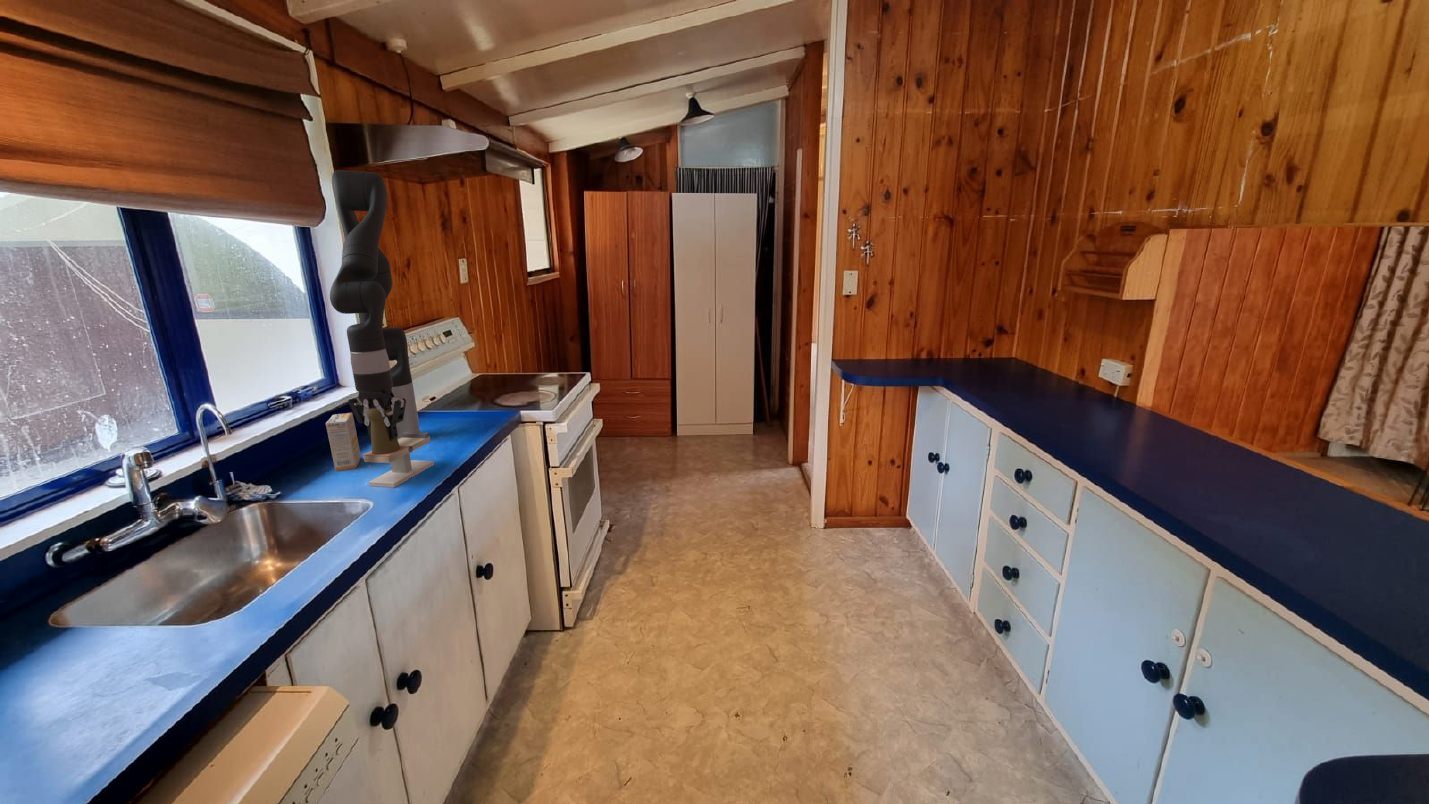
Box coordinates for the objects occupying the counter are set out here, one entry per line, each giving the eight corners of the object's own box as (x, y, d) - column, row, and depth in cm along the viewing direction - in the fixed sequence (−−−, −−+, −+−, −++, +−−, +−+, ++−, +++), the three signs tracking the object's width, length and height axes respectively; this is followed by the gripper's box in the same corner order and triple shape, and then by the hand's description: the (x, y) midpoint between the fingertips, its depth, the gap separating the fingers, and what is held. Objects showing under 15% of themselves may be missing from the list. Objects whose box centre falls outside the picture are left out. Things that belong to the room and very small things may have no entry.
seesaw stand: (368, 486, 136) (364, 462, 134) (410, 463, 150) (407, 442, 148) (394, 487, 135) (390, 464, 133) (434, 464, 149) (430, 443, 147)
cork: (387, 455, 133) (379, 410, 130) (365, 453, 134) (356, 409, 131) (406, 446, 138) (398, 403, 136) (384, 445, 140) (376, 402, 137)
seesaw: (364, 462, 134) (362, 451, 133) (406, 441, 148) (405, 431, 147) (389, 463, 133) (388, 453, 132) (430, 442, 147) (428, 432, 146)
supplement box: (341, 461, 152) (332, 414, 149) (361, 458, 154) (353, 412, 151) (334, 471, 145) (324, 422, 142) (356, 468, 147) (346, 420, 143)
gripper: (410, 366, 133) (421, 436, 138) (356, 365, 136) (369, 433, 140) (387, 373, 126) (399, 446, 131) (331, 372, 129) (345, 443, 133)
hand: (383, 439), depth 136 cm, fingers closed on cork, 4 cm apart
